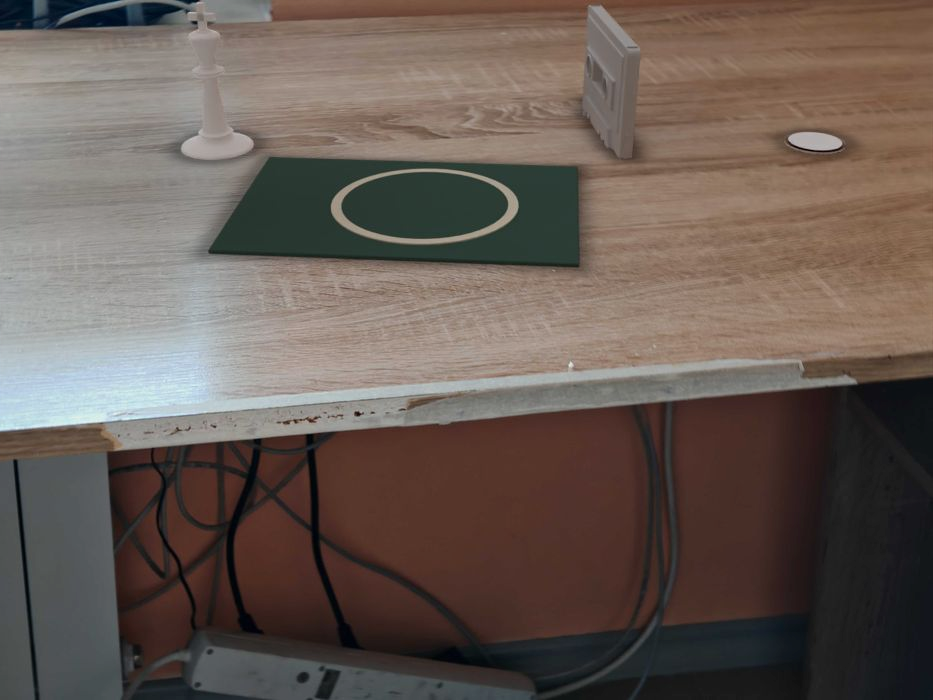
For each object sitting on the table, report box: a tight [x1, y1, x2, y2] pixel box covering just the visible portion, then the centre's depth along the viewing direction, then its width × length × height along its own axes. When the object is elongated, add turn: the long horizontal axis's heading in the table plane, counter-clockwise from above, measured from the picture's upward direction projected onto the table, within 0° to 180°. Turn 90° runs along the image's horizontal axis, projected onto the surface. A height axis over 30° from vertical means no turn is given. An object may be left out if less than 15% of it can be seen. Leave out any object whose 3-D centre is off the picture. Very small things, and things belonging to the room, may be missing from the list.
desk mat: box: [207, 156, 580, 268], centre depth 64 cm, size 20×14×1 cm
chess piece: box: [180, 1, 255, 161], centre depth 70 cm, size 5×5×10 cm
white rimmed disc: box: [783, 131, 847, 155], centre depth 73 cm, size 4×4×1 cm
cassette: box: [581, 4, 642, 160], centre depth 74 cm, size 12×2×8 cm, turn 7°
